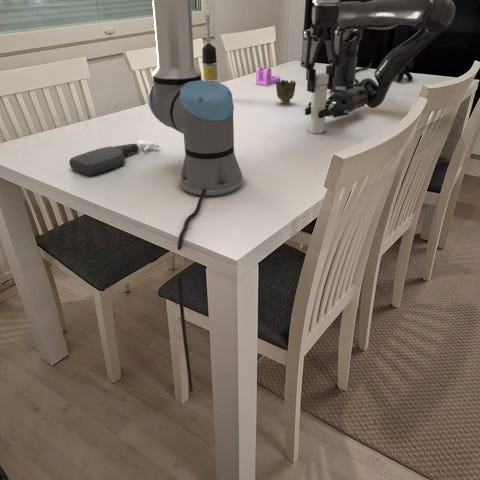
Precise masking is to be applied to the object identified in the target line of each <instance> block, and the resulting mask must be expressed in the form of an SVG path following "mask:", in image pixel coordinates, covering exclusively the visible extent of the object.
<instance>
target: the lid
mask: <svg viewBox="0 0 480 480" xmlns="http://www.w3.org/2000/svg"><path fill="white" fill-rule="evenodd" d="M328 81H329V74H327V73H326V72H316V76H315V84H327V83H328Z"/></svg>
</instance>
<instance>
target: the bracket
mask: <svg viewBox="0 0 480 480" xmlns="http://www.w3.org/2000/svg"><path fill="white" fill-rule="evenodd" d="M279 81H280V82H281V76H278V75H272V68H270V67H265V68H264V67H262V66H258V67H257V68H256V70H255V84H256V85H260V86H265V87H266V86H269V85H273V84H276V82H278V83H279Z"/></svg>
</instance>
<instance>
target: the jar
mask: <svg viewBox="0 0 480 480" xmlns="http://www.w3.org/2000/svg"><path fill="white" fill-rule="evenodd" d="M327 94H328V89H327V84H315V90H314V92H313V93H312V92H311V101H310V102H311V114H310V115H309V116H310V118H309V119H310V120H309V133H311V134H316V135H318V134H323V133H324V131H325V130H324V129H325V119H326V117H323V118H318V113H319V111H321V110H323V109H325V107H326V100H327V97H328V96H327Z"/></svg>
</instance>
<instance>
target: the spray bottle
mask: <svg viewBox="0 0 480 480" xmlns="http://www.w3.org/2000/svg"><path fill="white" fill-rule="evenodd" d="M159 148H160V145H159V144H158V143H155V142H151V141H148V140H144V139H139V140H138V141H137V142H135V143H129V144H128V143H126V144H122V145H113V146H105V147H100V148H97V149H94V150H90V151H87V152H83V153H81V154H78V155H74V156H73V157H70V159H69V161H68V162H69V167H70V168H71V169H72V170H74V171H75V172H78V173H81V174H83V175H85V176H89V177H90V176H91V177H92V176H95V175H99V174H102V173H105V172H107V171H110V170H113V169H116V168H118V167H120V166H122V165H123V164H124V163H125V158H126V156H127V155H131V154H133V153H138V151H140V150H143V151H144V152H146V151H147V150H149V149H159Z"/></svg>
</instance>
